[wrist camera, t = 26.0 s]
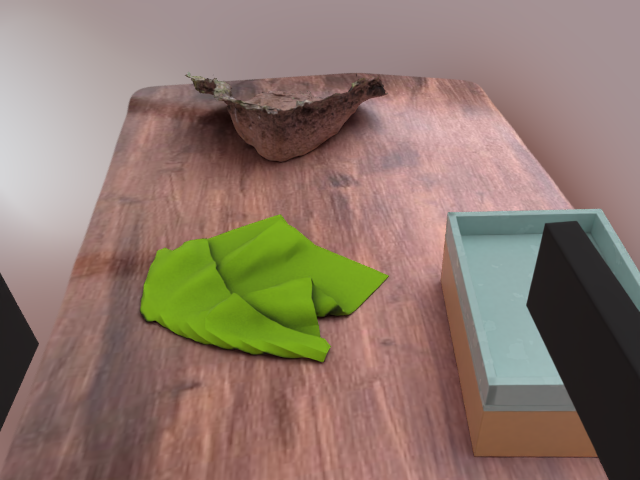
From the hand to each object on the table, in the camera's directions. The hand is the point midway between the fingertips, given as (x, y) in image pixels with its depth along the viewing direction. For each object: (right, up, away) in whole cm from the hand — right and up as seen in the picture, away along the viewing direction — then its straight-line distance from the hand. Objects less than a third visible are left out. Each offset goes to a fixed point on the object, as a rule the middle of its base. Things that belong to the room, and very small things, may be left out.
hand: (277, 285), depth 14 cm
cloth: (-4, -3, +38) cm, 38 cm away
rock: (-3, +15, +61) cm, 63 cm away
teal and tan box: (+18, -8, +30) cm, 36 cm away
